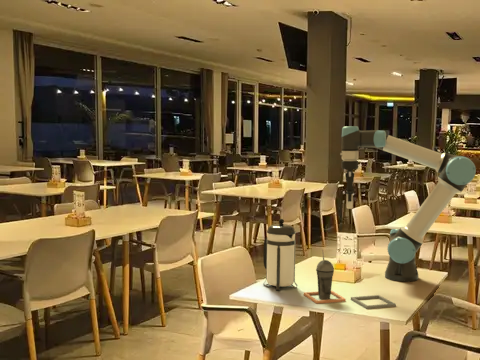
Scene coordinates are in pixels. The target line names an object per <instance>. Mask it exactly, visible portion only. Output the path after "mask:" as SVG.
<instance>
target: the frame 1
mask: <svg viewBox="0 0 480 360" xmlns="http://www.w3.org/2000/svg"><path fill="white" fill-rule="evenodd" d="M315 295H318V296H319V294H318V291H307V292H305V291H304V292H303V296H304V297H306V298H308V300H310V301H312V302H313V303H315V304H329V303H330V304H331V303H341V302H342V301H344V302H346V300H347V298H345V297H343V296H342V295H340V294H338V293H336V292H335V291H333V290H331V295H332V296H334V297H335V296H336V297H335V298H332V299H331V298H330V299H326V300H325V299H320V300H319V299H316V298H315V297H313V296H315Z"/></svg>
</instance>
